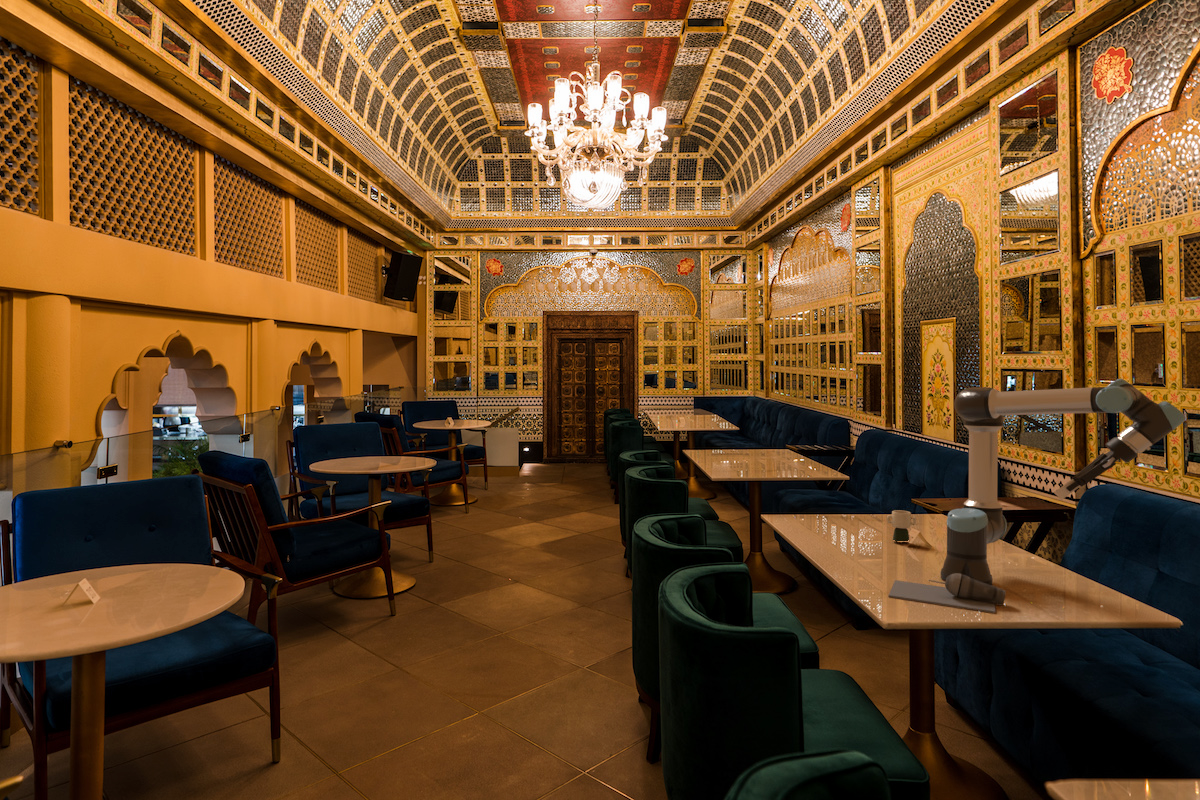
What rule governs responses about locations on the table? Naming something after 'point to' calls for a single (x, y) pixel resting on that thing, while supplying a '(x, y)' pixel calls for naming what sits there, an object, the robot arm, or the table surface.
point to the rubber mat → (936, 596)
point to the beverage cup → (973, 589)
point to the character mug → (901, 524)
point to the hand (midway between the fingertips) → (1057, 496)
